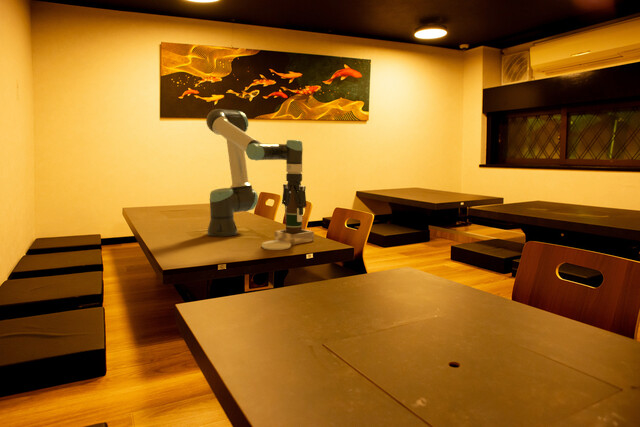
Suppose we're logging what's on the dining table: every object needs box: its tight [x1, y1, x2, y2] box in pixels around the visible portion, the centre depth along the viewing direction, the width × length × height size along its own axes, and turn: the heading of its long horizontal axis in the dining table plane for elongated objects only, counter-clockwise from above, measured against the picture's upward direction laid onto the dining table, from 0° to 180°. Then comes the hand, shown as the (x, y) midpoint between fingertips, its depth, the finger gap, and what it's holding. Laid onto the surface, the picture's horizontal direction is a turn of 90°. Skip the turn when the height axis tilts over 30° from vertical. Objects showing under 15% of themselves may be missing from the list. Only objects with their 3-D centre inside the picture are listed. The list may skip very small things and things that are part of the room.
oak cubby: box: [274, 228, 315, 246], centre depth 212 cm, size 13×13×4 cm
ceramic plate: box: [261, 240, 292, 251], centre depth 199 cm, size 13×13×2 cm
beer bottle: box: [285, 186, 303, 234], centre depth 211 cm, size 8×8×24 cm
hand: (293, 220), depth 211 cm, fingers closed on beer bottle, 8 cm apart
